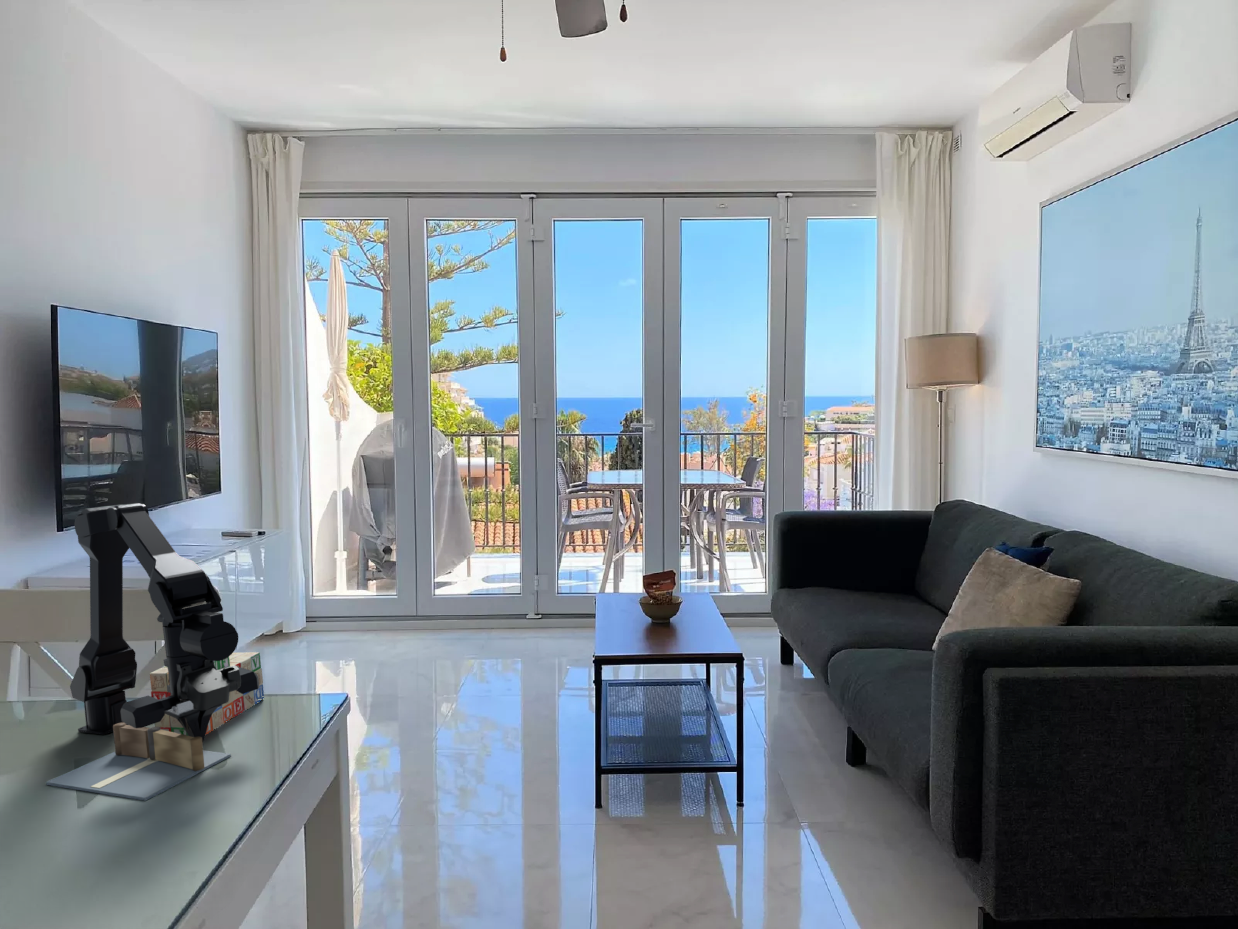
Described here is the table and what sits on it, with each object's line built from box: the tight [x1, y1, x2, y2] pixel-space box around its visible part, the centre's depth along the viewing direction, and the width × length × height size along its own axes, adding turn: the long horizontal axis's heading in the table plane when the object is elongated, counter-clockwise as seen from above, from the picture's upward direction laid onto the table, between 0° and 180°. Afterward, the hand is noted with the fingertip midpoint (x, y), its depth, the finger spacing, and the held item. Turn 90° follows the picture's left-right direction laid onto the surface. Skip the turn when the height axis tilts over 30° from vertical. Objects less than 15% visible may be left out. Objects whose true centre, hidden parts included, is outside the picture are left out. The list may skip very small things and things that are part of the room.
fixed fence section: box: [112, 723, 150, 758], centre depth 136 cm, size 7×2×5 cm, turn 69°
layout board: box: [45, 749, 232, 802], centre depth 132 cm, size 20×16×1 cm
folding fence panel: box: [147, 726, 204, 771], centre depth 132 cm, size 12×2×5 cm, turn 61°
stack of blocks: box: [149, 651, 265, 736], centre depth 152 cm, size 21×6×12 cm, turn 169°
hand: (199, 749), depth 133 cm, fingers closed
